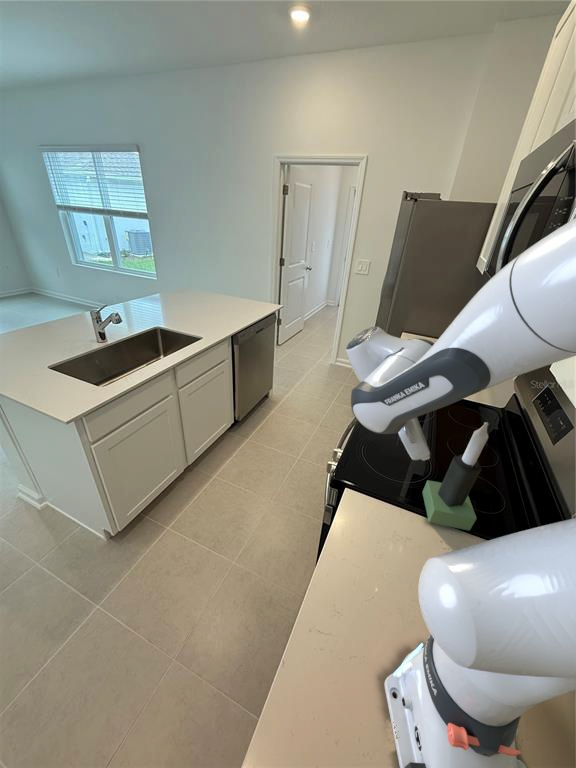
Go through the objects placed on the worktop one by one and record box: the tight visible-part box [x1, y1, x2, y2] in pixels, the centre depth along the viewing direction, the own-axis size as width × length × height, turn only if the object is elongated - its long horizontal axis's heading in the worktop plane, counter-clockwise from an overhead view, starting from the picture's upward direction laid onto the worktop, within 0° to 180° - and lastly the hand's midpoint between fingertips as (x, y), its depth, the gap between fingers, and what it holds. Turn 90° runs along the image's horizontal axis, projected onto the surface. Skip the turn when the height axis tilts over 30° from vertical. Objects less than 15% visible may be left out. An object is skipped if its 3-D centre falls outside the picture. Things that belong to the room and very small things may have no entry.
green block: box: [421, 479, 477, 532], centre depth 82 cm, size 10×10×5 cm
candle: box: [438, 421, 489, 507], centre depth 74 cm, size 5×5×25 cm
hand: (420, 442), depth 69 cm, fingers open, 8 cm apart
